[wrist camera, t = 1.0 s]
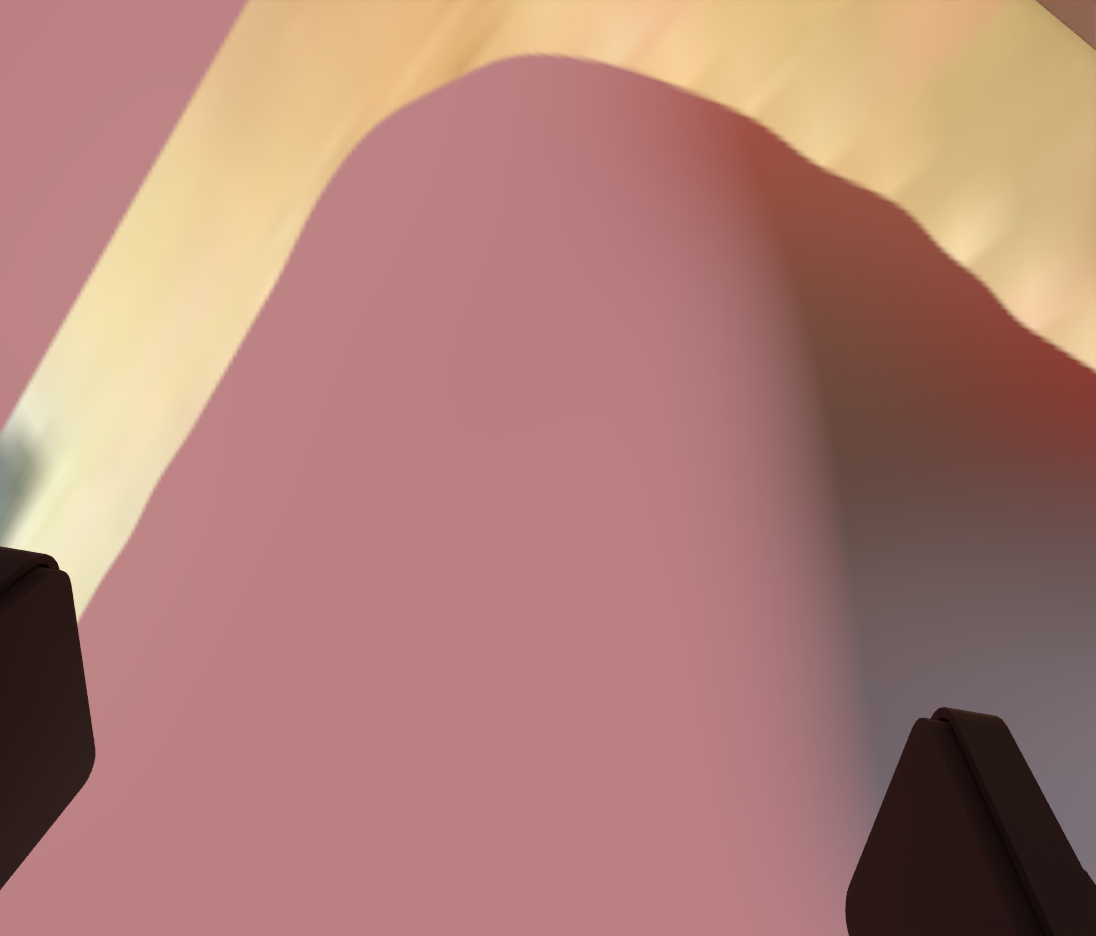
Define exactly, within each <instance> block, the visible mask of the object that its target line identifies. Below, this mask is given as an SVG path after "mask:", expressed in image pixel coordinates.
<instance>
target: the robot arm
mask: <svg viewBox="0 0 1096 936" xmlns="http://www.w3.org/2000/svg"><path fill="white" fill-rule="evenodd" d="M94 761H95V744H94V737H93V730H92V723H91V716H90V710H89V703H88V696H87V689H86V682H85V675H84V668H83V661H82V655H81V648H80V641H79V634H78V627H77V620H76V613H75V607H74V600H73V593H72V586H71V581H70V578H69V576H68V574H67V573H66V572H64V571H62V570H59V566H58V563H57V562H56V561H55V559H54V558H53V557H51V556H49V555H47V554H42V553H36V552H30V551H24V550H18V549H12V548H6V547H0V890H1V888H2V887H3V886H4V885H5V883H6V882H7V881H8V880H9V878H10V877H11V876H12V875H13V873H14V872H15V871H16V870H17V868H18V867H19V866H20V865H21V863H22V862H23V861H24V860H25V858H26V857H27V856H28V855H29V853H30V852H31V851H32V850H33V848H34V847H35V846H36V845H37V843H38V842H39V841H40V840H41V838H42V837H43V836H44V835H45V833H46V832H47V831H48V829H49V828H50V827H51V826H52V824H53V823H54V822H55V821H56V820H57V818H58V817H59V816H60V815H61V813H62V812H63V811H64V810H65V808H66V807H67V806H68V804H69V803H70V802H71V801H72V799H73V798H74V797H75V796H76V794H77V793H78V792H79V791H80V789H81V788H82V787H83V786H84V784H85V783H86V781H87V780H88V778H89V775H90V773H91V771H92V768H93V765H94ZM845 912H846V923H847V929H848V933H849V936H1096V885H1095V883H1094V882H1093V881H1092V879H1091V878H1090V876H1089V875H1088V873H1087V872H1086V871H1085V870H1084V869H1083V868H1082V866H1081V864H1080V862H1079V860H1078V858H1077V857H1076V855H1075V853H1074V851H1073V849H1072V847H1071V845H1070V843H1069V841H1068V840H1067V838H1066V836H1065V834H1064V832H1063V830H1062V828H1061V826H1060V825H1059V823H1058V821H1057V819H1056V817H1055V815H1054V813H1053V811H1052V810H1051V808H1050V806H1049V804H1048V802H1047V800H1046V798H1045V797H1044V795H1043V793H1042V791H1041V789H1040V787H1039V785H1038V783H1037V781H1036V779H1035V778H1034V776H1033V774H1032V772H1031V770H1030V768H1029V766H1028V765H1027V763H1026V761H1025V759H1024V757H1023V755H1022V753H1021V752H1020V750H1019V748H1018V746H1017V744H1016V742H1015V740H1014V738H1013V737H1012V734H1011V733H1010V731H1009V729H1008V727H1007V725H1006V724H1005V723H1004V721H1003V720H1002V719H1000V718H999V717H997V716H993V715H987V714H982V713H975V712H970V711H964V710H958V709H952V708H946V707H943V708H939V709H938V710H936V711H935V713H934V714H933V716H932V717H931V719H928V718H919V719H918V720H917V721H916V722H915V724H914V726H913V728H912V730H911V732H910V735H909V737H908V740H907V743H906V745H905V748H904V750H903V752H902V755H901V758H900V760H899V763H898V765H897V767H896V770H895V772H894V775H893V777H892V780H891V782H890V785H889V788H888V790H887V793H886V795H885V797H884V800H883V802H882V805H881V807H880V810H879V812H878V815H877V817H876V820H875V822H874V825H873V827H872V830H871V832H870V835H869V837H868V840H867V843H866V845H865V847H864V850H863V853H862V855H861V857H860V860H859V862H858V865H857V867H856V870H855V872H854V875H853V877H852V880H851V883H850V885H849V888H848V891H847V896H846V908H845Z"/></svg>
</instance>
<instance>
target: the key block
mask: <svg viewBox="0 0 1096 936" xmlns="http://www.w3.org/2000/svg"><path fill="white" fill-rule="evenodd" d="M1037 1H1038V2H1039V3H1040V4H1041V5H1043V6H1044V7H1045V8H1046V9H1047V10H1049V11H1050V12H1051V13H1052V14H1053V15H1055V16H1056V17H1057V18H1058V19H1059V20H1061V21H1062V22H1063V23H1064V24H1065V25H1067V26H1068V27H1069V28H1070V29H1071V30H1072V31H1074V32H1075V33H1076V34H1077V35H1078V36H1080V37H1081V38H1082V39H1083V40H1084V41H1086V42H1087V43H1088V44H1089V45H1090V46H1092V47H1093V48H1094V49H1095V50H1096V0H1037Z"/></svg>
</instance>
